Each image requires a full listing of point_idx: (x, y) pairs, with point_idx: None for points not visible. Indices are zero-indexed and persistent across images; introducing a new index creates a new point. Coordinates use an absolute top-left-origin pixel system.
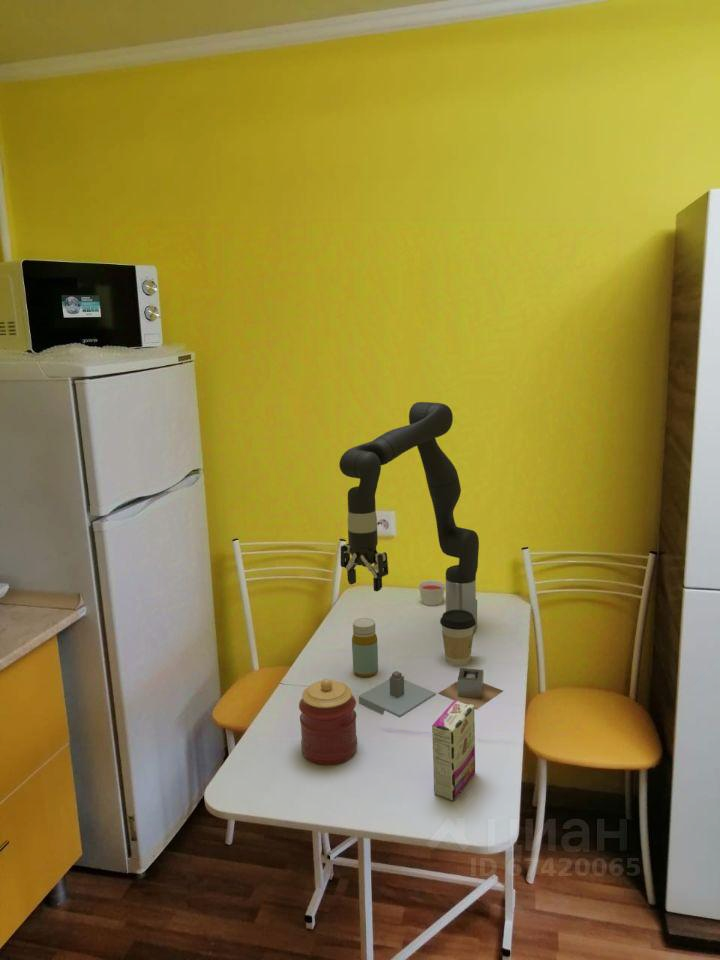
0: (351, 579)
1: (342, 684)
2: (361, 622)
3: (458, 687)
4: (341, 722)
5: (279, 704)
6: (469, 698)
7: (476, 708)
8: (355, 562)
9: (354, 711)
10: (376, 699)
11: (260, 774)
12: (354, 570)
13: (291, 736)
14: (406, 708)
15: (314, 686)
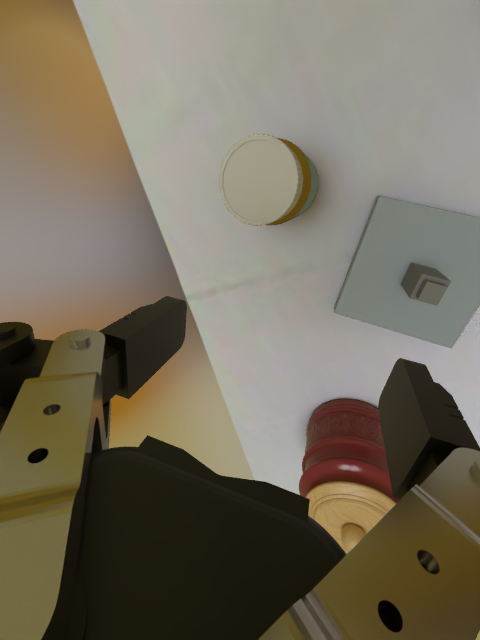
0: (167, 354)
1: (378, 516)
2: (247, 183)
3: None
4: None
5: (215, 354)
6: None
7: None
8: (93, 449)
9: None
10: (376, 311)
11: (292, 481)
12: (130, 352)
13: (281, 416)
14: (459, 320)
15: (323, 522)
